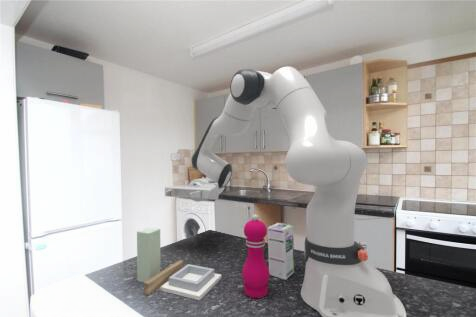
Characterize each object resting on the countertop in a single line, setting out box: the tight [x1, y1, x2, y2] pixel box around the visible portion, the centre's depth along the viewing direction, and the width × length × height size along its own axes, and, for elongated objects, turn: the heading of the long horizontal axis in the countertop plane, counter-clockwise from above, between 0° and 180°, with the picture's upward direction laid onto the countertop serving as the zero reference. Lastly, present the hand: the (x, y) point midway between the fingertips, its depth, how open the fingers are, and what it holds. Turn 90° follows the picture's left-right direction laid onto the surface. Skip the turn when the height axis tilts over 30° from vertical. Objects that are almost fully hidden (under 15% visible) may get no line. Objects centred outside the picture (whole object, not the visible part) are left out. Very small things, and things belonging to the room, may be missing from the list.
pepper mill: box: [241, 214, 271, 299], centre depth 63 cm, size 7×7×20 cm
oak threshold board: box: [143, 259, 185, 296], centre depth 69 cm, size 2×15×3 cm, turn 157°
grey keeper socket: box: [159, 263, 223, 301], centre depth 67 cm, size 12×12×3 cm
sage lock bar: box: [136, 227, 162, 283], centre depth 70 cm, size 4×4×14 cm
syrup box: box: [267, 222, 295, 281], centre depth 72 cm, size 6×6×14 cm
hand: (177, 194), depth 83 cm, fingers open, 8 cm apart
